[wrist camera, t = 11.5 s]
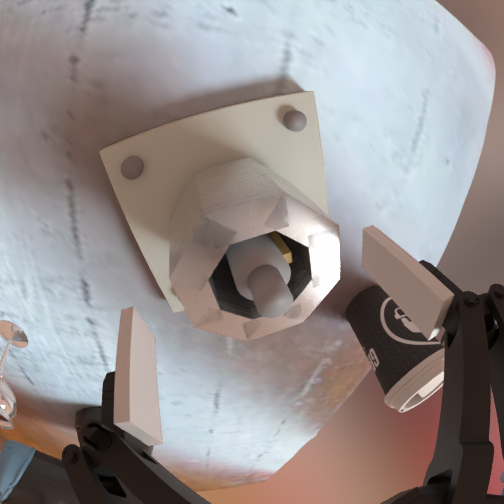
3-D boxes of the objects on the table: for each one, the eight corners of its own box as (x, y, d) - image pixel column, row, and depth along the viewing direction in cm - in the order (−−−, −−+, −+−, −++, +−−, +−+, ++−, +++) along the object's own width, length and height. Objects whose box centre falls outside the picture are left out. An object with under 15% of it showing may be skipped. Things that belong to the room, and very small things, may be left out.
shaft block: (173, 302, 27) (183, 411, 17) (104, 147, 18) (33, 211, 8) (324, 253, 28) (390, 338, 18) (305, 91, 19) (415, 104, 9)
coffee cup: (332, 296, 32) (398, 399, 20) (396, 264, 32) (471, 346, 20) (338, 339, 38) (387, 424, 25) (392, 310, 38) (448, 384, 26)
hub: (197, 285, 23) (208, 352, 17) (157, 185, 18) (148, 234, 12) (300, 252, 23) (339, 307, 18) (285, 148, 18) (335, 178, 13)
